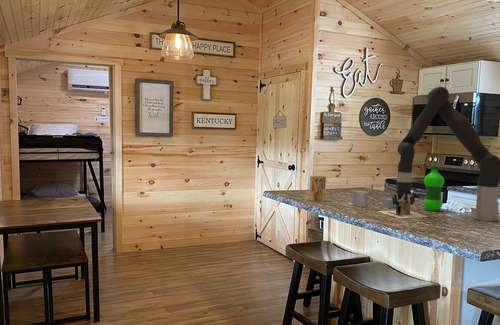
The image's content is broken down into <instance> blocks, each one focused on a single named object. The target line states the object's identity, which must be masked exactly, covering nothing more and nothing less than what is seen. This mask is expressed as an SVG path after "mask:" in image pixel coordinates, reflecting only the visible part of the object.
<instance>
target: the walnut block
mask: <svg viewBox="0 0 500 325" xmlns="http://www.w3.org/2000/svg"><path fill="white" fill-rule="evenodd" d="M398 204H399V203H398ZM410 204H411V203H408V202H405V201H403V202H402V203H401V210H400V213H397V212H396V213H397V214H401V215H410V211H411V205H410Z"/></svg>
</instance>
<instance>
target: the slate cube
mask: <svg viewBox="0 0 500 325" xmlns="http://www.w3.org/2000/svg"><path fill="white" fill-rule="evenodd" d="M382 207H383V208H387V209H393V208H394V209H396V205H394V204H393V201H392V197H391V198H383V200H382Z"/></svg>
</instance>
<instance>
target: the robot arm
mask: <svg viewBox="0 0 500 325" xmlns="http://www.w3.org/2000/svg"><path fill="white" fill-rule="evenodd" d="M449 97H450V93H449V90H448V89H447V88H446V87H445V86H436V87H433V89H431V90H430V91H429V92H428V93H427V97H426V98H427V102H426V105H425V106H424V108H423V110H422V111H421V113H420V114H419V116H418V117H417V118H416V120H415V121H414V122H413V124H412V126H411V127H410V128H409V131H408V133H407V134H406V135H405V137H404V138H403V139H402V140H400V142H399V145H398V146H397V153H398V154H399V155H400V158H399V159H400V160H399V161H398V165H397V175H396V192H395V193H391V199H392V201H393V204H394V205H396V208H395V210H396V212H397V213H400V210H401V203H402V202H408V203H411V204H410V206H411V205H414V204H415V199H416V195H417V194H416V193H414V192H411V191H412V189H413V163H414V158H415V146H416V144H417V143H418V142H419V141H420V140H421V139H422V138H423V136H424V134H425V132H426V131H427V129H428V128H429V125H430V124H431V122H432V121H433V119H434V117H435V116H436V115H437V113H438V114H439V115H440V116H441V117H442V120H444V123H445V124H446V126H448V128H449V129H450V131H451V132H452V134H453V135H454V137H456V139H457V140H458V141H459V142H460V144H461V145H462V146H463V147H464V148H465V149H466V150H467V151H468V152H469V153H470V155H471V156H472V158H473V160H474V161H475V163H476V165H477V166H478V169H479V176H478V180H477V187H476V188H477V189H476V204H475V205H476V206H475V218H474V219H475V220H478V221H482V222H497V221H498V219H499V218H498V217H499V207H500V206H499V201H498V199H499V185H500V157H498V156H497V155H495V154H492V153H491V152H490V151H489V150H488V149H487V147H485V145H484V144H483V142H482V141H481V138H480V136H479V134H478V132H477V130H476V129H475V126H474V125H472V123H471V122H470V120H468V118H467V117H466V116H464V115H463V114H462V113H460V112H459V111H458V110H457V109H456V108H455V107H454V106H453V105H452V104H451V102H450V101H449ZM398 203H399V204H398Z"/></svg>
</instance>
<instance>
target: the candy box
mask: <svg viewBox="0 0 500 325" xmlns="http://www.w3.org/2000/svg"><path fill="white" fill-rule="evenodd" d="M326 177H327V176H325V175H310V177H309V180H310V181H309V201H311V202H319V201H321V202H323V201H325V200H326V180H327V179H326Z"/></svg>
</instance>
